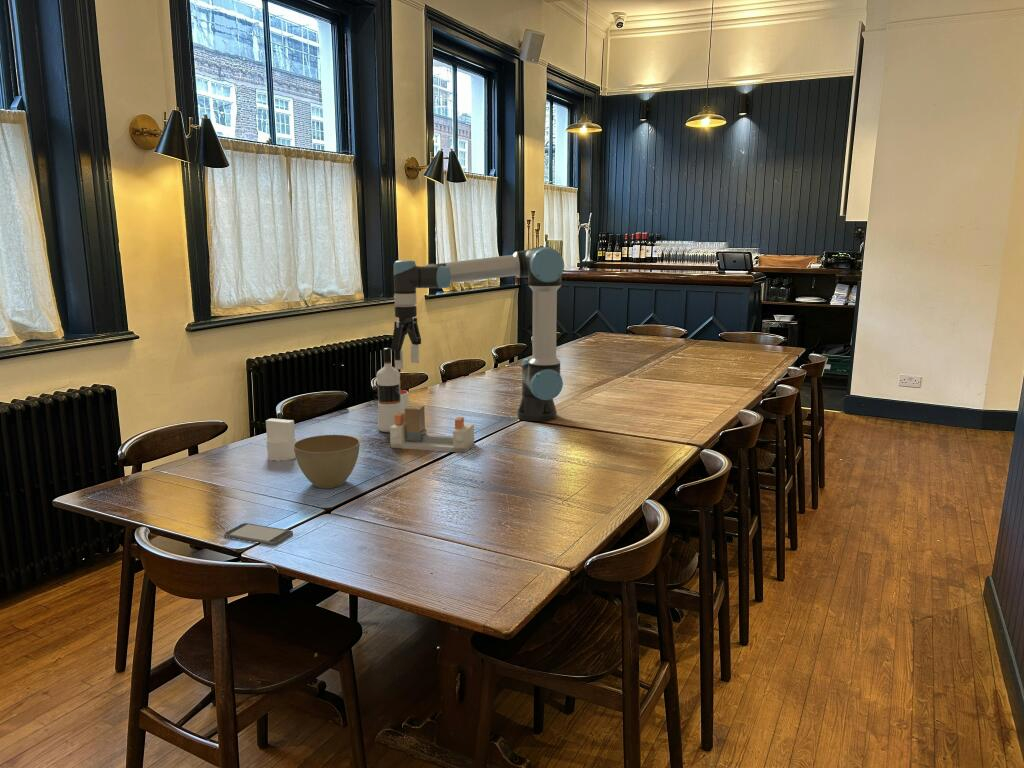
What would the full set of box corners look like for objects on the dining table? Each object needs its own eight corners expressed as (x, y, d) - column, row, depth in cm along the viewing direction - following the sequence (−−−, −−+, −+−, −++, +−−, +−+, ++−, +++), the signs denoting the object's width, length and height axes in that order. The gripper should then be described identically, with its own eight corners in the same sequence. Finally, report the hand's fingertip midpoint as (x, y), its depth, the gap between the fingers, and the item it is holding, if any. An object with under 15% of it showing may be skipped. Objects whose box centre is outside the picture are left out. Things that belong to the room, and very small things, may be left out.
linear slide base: (474, 444, 247) (473, 415, 245) (464, 453, 238) (464, 423, 236) (402, 439, 254) (401, 411, 252) (390, 447, 244) (389, 418, 242)
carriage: (426, 437, 248) (425, 406, 246) (421, 441, 244) (420, 409, 241) (410, 436, 250) (408, 405, 248) (404, 440, 245) (403, 408, 243)
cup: (404, 421, 278) (403, 395, 276) (379, 420, 280) (377, 394, 278) (412, 415, 287) (411, 390, 285) (388, 413, 289) (387, 389, 287)
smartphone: (274, 543, 168) (222, 534, 174) (274, 547, 168) (222, 538, 174) (294, 531, 175) (244, 522, 180) (294, 535, 175) (244, 526, 181)
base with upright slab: (302, 454, 238) (300, 418, 235) (285, 462, 230) (283, 425, 227) (279, 451, 241) (276, 416, 238) (261, 459, 232) (258, 422, 230)
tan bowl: (328, 499, 198) (326, 456, 195) (282, 487, 207) (279, 446, 204) (374, 480, 213) (372, 439, 210) (329, 469, 222) (327, 431, 219)
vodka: (375, 427, 269) (371, 346, 263) (400, 425, 272) (397, 345, 266) (380, 434, 260) (376, 350, 254) (405, 431, 264) (402, 349, 257)
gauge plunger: (404, 421, 249) (404, 412, 248) (400, 424, 245) (399, 415, 244) (399, 421, 249) (399, 412, 249) (394, 424, 245) (394, 415, 245)
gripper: (410, 301, 267) (411, 359, 271) (379, 308, 243) (381, 371, 248) (429, 302, 265) (430, 360, 269) (400, 309, 241) (402, 372, 245)
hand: (407, 365), depth 258 cm, fingers open, 13 cm apart
